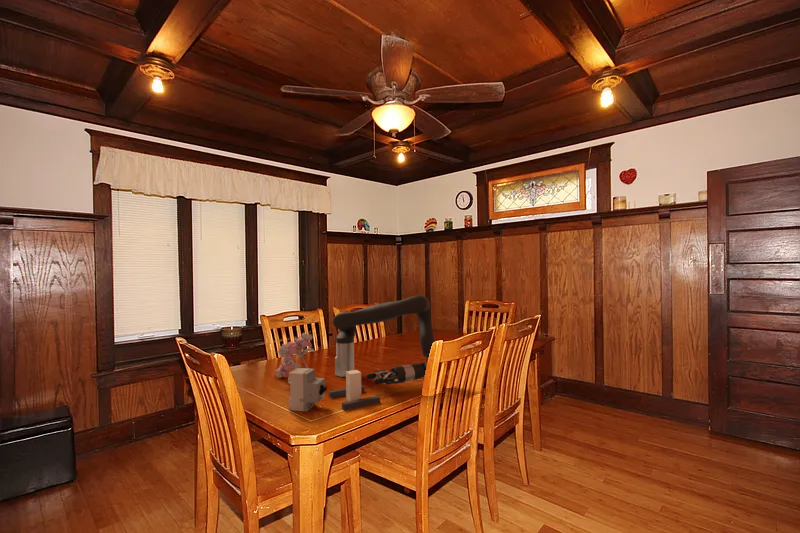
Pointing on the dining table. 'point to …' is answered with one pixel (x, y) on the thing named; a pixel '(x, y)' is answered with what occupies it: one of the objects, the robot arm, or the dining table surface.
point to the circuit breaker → (305, 389)
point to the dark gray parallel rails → (354, 403)
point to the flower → (290, 350)
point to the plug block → (353, 385)
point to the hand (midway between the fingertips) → (370, 379)
